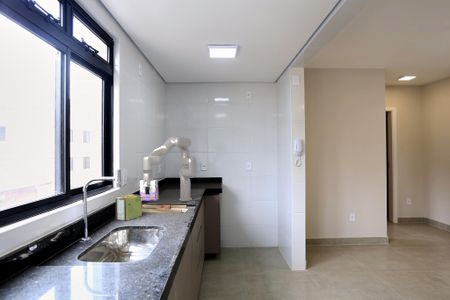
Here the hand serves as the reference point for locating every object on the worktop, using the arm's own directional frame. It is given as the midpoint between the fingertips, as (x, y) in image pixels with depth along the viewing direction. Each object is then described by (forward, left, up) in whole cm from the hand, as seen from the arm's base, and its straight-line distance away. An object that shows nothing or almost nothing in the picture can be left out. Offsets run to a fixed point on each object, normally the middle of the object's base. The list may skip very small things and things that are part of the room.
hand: (149, 193), depth 210 cm
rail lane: (+1, +11, -14) cm, 17 cm away
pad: (+1, +25, -14) cm, 28 cm away
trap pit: (+1, +13, -14) cm, 19 cm away
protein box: (+24, -5, -14) cm, 28 cm away
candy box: (0, 0, -6) cm, 6 cm away
